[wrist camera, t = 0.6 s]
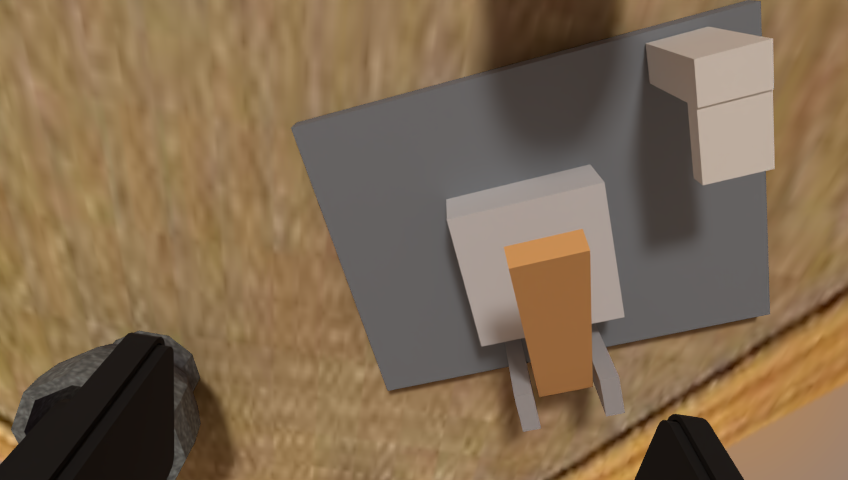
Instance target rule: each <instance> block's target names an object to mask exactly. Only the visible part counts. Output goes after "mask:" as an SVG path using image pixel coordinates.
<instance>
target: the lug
mask: <svg viewBox="0 0 848 480" xmlns="http://www.w3.org/2000/svg"><path fill="white" fill-rule="evenodd" d="M646 53H647V62H648V71H649V80H650V84H652V85H654V86H656V87H658V88H660V89H662V90H664V91H665V92H667V93H669V94H671V95H673V96H675V97H677V98H679V99H681V100H683V101H685V102H687V104H688V116H689V128H690V140H691V152H692V164H693V176H694V179H695V180H697V181H698V182H699V183H700V184H702V185H707V184H711V183H715V182H720V181H724V180H728V179H733V178H737V177H741V176H745V175H750V174H754V173H758V172H763V171H767V170H771V169H775V165H774V122H773V89H774V66H773V39H772V38H767V37H761V36H756V35H751V34H745V33H740V32H735V31H730V30H724V29H719V28H714V27H705V28H701V29H697V30H693V31H690V32H686V33H682V34H678V35H675V36H671V37H667V38H663V39H660V40H656V41H652V42H649V43H646Z"/></svg>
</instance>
